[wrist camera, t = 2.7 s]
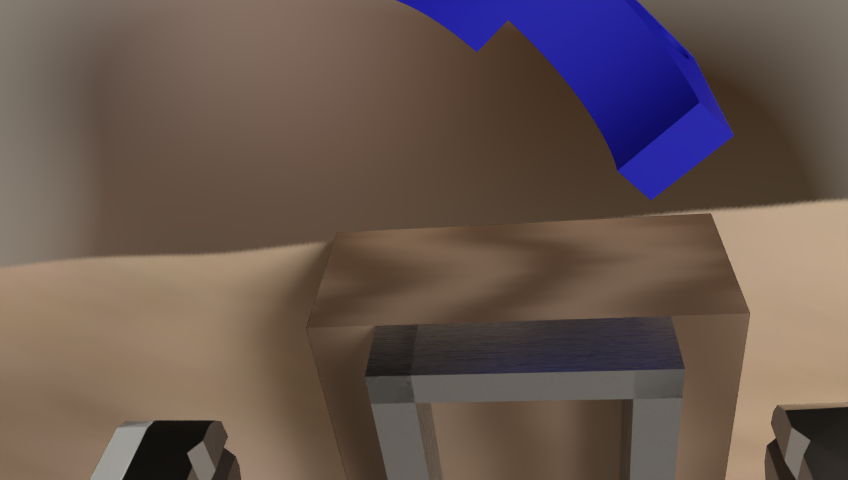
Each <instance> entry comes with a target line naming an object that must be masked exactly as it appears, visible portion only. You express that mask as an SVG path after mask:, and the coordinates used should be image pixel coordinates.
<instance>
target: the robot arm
mask: <svg viewBox="0 0 848 480" xmlns="http://www.w3.org/2000/svg"><path fill="white" fill-rule="evenodd" d="M771 425H772V428H773V431H774V433H775V436H776V438H775V439H774V440H773V441H772V442H770V443H769V444H768V445H767V448H766V455H765V478H766V480H848V402H843V403H816V404H789V405H777V407H776V408H775V410H774V411H773V416H772V421H771ZM227 437H228V436H227V433H226V431H225V429H224V427H223V424H222V422H220V421H215V420H155V421H125V422H123V423H122V424H121V425H120V426H119V427H117V429H116V430H115V432H114V434H113V436H112V438H111V440H110V441H109V443H108V445H107V447H106V449H105V451H104V453H103V455H102V456H101V458H100V460H99V462H98V464H97V466H96V468H95V470H94V472H93V473H92V475H91V477H90V479H89V480H241V475H240V468H239V464H238V462H237V459H236V456H235V455H234V454H232V453H231V452H229V451H228V450H227V449H225V448H224V446H225V443H226V440H227Z"/></svg>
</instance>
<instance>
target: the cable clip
mask: <svg viewBox="0 0 848 480" xmlns="http://www.w3.org/2000/svg"><path fill="white" fill-rule="evenodd" d="M397 1H400V2H402V3H404V4H407V5H409V6H411V7H413V8H415V9H417V10H419V11H420V12H422V13H424V14H426V15H428V16H429V17H431V18H432V19H434V20H435V21H437V22H439V23H440V24H441V25H443V26H444V27H446V28H447V29H449V30H450V31H451V32H453V33H454V34H456V35H457V36H458V37H459V38H461V39H462V40H463V41H464V42H465V43H467V44H468V45H469V46H470V47H472V48H473V49H474V50H475V51H476V52H477V51H478V50H479V49H480V48H481V47H482V46H483V45H484V44H485V43H486V42H487V41H488V40H489V39H490V38H491V37H492V36H493V35H494V33H496V32H497V30H498V29H499V28H500V27H501V26H502V25H503V24H504V23H505V22H506V21H507V20H509V21H510V22H511V23H512V24H513V25H515V27H516V28H518V29H519V30H520V31H521V32H522V33H523V34H524V35H525V36H526V37H527V38H528V39H529V40H530V41H531V42H532V43H533V44H534V45H535V46H536V47H537V48H538V50H539V51H540V52H541V53H542V54H543V55H544V56H545V57H546V58H547V59H548V61H549V62H550V63H551V64H552V65H553V66H554V67H555V69H556V70H557V71H558V72H559V73H560V75H561V76H562V77H563V78H564V79H565V80H566V82H567V83H568V84H569V86H570V87H571V88H572V89H573V91H574V92H575V93H576V95H577V96H578V97H579V99H580V100H581V102H582V103H583V104H584V106H585V107H586V109H587V110H588V112H589V113H590V115H591V116H592V118H593V119H594V121H595V122H596V124H597V126H598V128H599V129H600V131H601V133H602V134H603V136H604V138H605V140H606V142H607V144H608V146H609V148H610V151H611V153H612V156H613V158H614V161H615V164H616V167H617V171H618V172H619V173H621V174H622V175H623V176H624V177H625V178H626V179H627V180H629V181H630V182H631V183H632V184H633V185H634V186H635V187H637V188H638V189H639V190H640V191H641V192H642V193H643V194H644V195H646V196H647V197H648V198H649V199H650V200H652V199H653V198H654V197H656V196H657V195H658V194H660V193H661V192H662V191H663V190H665V189H666V188H667V187H669V186H670V185H671V184H672V183H674V182H675V181H676V180H678V179H679V178H680V177H681V176H683V175H684V174H685V173H686V172H688V171H689V170H690V169H692V168H693V167H694V166H695V165H697V164H698V163H699V162H701V161H702V160H703V159H704V158H706V157H707V156H708V155H709V154H711V153H712V152H713V151H714V150H716V149H717V148H718V147H720V146H721V145H722V144H724V143H725V142H726V141H727V140H729V139H730V138H731V137H733V136H734V135H733V133H732V131H731V129H730V127H729V125H728V123H727V121H726V119H725V117H724V115H723V113H722V111H721V109H720V108H719V106H718V104H717V102H716V100H715V98H714V96H713V94H712V92H711V90H710V88H709V86H708V84H707V82H706V80H705V78H704V76H703V75H702V72H701V70H700V68H699V67H698V65H697V63H696V61H695V59H694V57H693V56H692V54H690V52H689V51H688V50H687V49H686V48H684V46H683V45H682V44H681V43H679V41H677V39H676V38H675V37H674V36H673V35H672V34H670V32H668V31H667V30H666V29H665V28H664V27H663V26H662V25H661V24H660V23H659V22H658V21H657V20H656V19H655V18H654V17H653V16H652V15H651V14H650V13H649V12H648V11H647V10H646V9H645V8H644V7H643V6H642V5H641V4H640V3H639V2H638V1H637V0H397Z"/></svg>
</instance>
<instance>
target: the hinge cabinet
mask: <svg viewBox="0 0 848 480" xmlns="http://www.w3.org/2000/svg"><path fill="white" fill-rule="evenodd" d="M749 318H750V312H749V309H748V307H747V304H746V301H745V299H744V296H743V294H742V291H741V289H740V286H739V284H738V281H737V279H736V276H735V273H734V271H733V268H732V266H731V263H730V261H729V258H728V256H727V253H726V251H725V248H724V246H723V243H722V240H721V238H720V235H719V233H718V230H717V228H716V225H715V223H714V220H713V218H712V215H711V214H694V215H674V216H654V217H634V218H615V219H595V220H575V221H555V222H537V223H536V222H535V223H515V224H496V225H476V226H456V227H437V228H416V229H396V230H377V231H357V232H337V234H336V237H335V240H334V243H333V246H332V249H331V252H330V255H329V258H328V262H327V265H326V268H325V271H324V274H323V277H322V280H321V283H320V287H319V290H318V293H317V296H316V299H315V302H314V305H313V309H312V312H311V315H310V318H309V321H308V324H307V327H306V329H307V332H308V336H309V340H310V344H311V347H312V351H313V355H314V358H315V362H316V366H317V369H318V373H319V377H320V381H321V384H322V388H323V392H324V395H325V399H326V403H327V406H328V410H329V414H330V418H331V421H332V425H333V429H334V432H335V436H336V440H337V444H338V447H339V451H340V455H341V458H342V462H343V466H344V469H345V473H346V477H347V480H725V476H726V469H727V462H728V456H729V449H730V443H731V436H732V429H733V423H734V416H735V410H736V403H737V397H738V390H739V383H740V377H741V370H742V364H743V357H744V351H745V344H746V337H747V331H748V324H749Z"/></svg>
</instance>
